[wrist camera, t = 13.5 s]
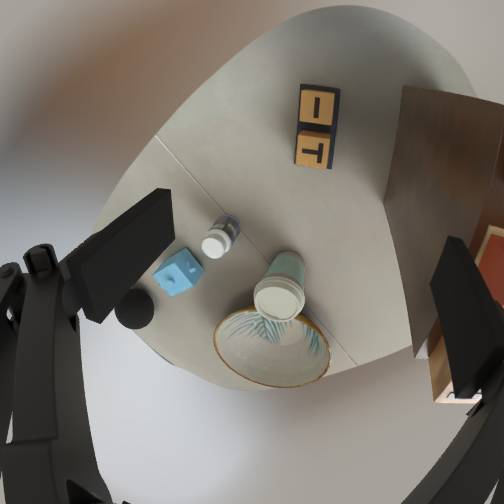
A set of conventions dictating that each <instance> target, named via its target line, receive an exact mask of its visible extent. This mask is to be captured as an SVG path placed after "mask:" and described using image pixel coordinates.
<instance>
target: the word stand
mask: <svg viewBox="0 0 504 504" xmlns="http://www.w3.org/2000/svg"><path fill="white" fill-rule="evenodd" d="M383 205H384V208H385V212H386V216H387V219H388V223H389V227H390V231H391V235H392V239H393V243H394V247H395V251H396V255H397V260H398V264H399V269H400V274H401V279H402V284H403V289H404V294H405V299H406V305H407V311H408V317H409V323H410V330H411V337H412V344H413V352H414V358H418V359H426V360H429V366H430V373H431V382H432V390H433V400H434V402H438V403H474V404H476V403H477V402H478V401H479V400H480V399H481V398H482V395H481V390H479V391H478V392H477V393H476V394H475V395H474V396H473V398H472V399H455V397H454V390H453V384H452V378H451V372H450V367H449V362H448V356H447V352H446V347H445V342H444V338H443V334H442V329H441V325H440V321H439V317H438V313H437V310H436V306H435V302H434V299H433V295H432V292H431V288H430V285H429V284H430V281H431V279H432V276H433V274H434V272H435V269H436V266H437V264H438V261H439V259H440V256H441V253H442V251H443V248H444V245H445V242H446V240H447V237H448V235H449V236H453V237H458V238H462V240H463V242H464V243H465V245H466V247H467V249H468V250H469V252H470V254H471V256H472V258H473V259H474V261H475V263H476V265H477V267H478V265H479V263H480V261H481V258H482V256H483V253H484V251H485V249H486V246H487V244H488V241H489V239H490V236H491V234H494V235H498V236H501V237H504V105H502V104H499V103H494V102H491V101H487V100H483V99H479V98H474V97H470V96H465V95H460V94H455V93H450V92H444V91H439V90H433V89H426V88H419V87H412V86H403V93H402V102H401V109H400V117H399V124H398V130H397V136H396V143H395V148H394V154H393V160H392V165H391V170H390V175H389V180H388V185H387V190H386V195H385V199H384V204H383Z"/></svg>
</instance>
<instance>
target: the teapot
mask: <svg viewBox="0 0 504 504" xmlns="http://www.w3.org/2000/svg"><path fill="white" fill-rule="evenodd" d="M203 272H204V269H203V268H202V267H201V266H200V264H199V263H198V262H197V261H196V259H195V258H194V257H193V256H192V254H191V253H190V252H189V251H188V249H187V248H185V249H183V250H182V251H180V252H178V253H177V254H175V255H173V256H172V257H170V258H168V259H167V260H165V261H164V262H163V263H162V264H161V265H160V267H159V268H158V269H157V270H156V271H155V273H154V274H153V276H154V277H155V279H156V280H157V281H158V282H159V286H160V287H161V288H164V289H165V290H166V292H167V293H168V294H169V295H170V296H171V297H172V296H174V295H176V294H178V293H180V292H183V291H185V290H187V289H189V288H191V287H193V286H194V285H195V284H196V282H197V281H198V279H199V278H200V276H201V275H202V273H203Z"/></svg>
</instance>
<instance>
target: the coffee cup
mask: <svg viewBox="0 0 504 504" xmlns="http://www.w3.org/2000/svg"><path fill="white" fill-rule="evenodd" d="M304 272H305V263H304V260H303V258H302V257H301V256H300V255H299V254H297V253H295V252H292V251H284V252H281V253H279V254H278V255H277V256H276V258H275V259H274V261H273V262H272V264H271V266H270V267H269V269H268V270H267V272H266V274H265V275H264V277H263V278H262V280H261V281H260V282H259V283H258V284H257V285H256V287H255V289H254V295H253V297H254V304H255V307H256V309H257V311H258V312H259V313H260V314H261V315H262V316H263V317H265V318H267V319H269V320H272V321H276V322H286V321H289V320H292V319H293V318H295V317H296V316H297V315H298V314H299V313H300V312H301V310H302V308H303V306H304V304H305V296H304Z"/></svg>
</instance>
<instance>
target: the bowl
mask: <svg viewBox="0 0 504 504" xmlns="http://www.w3.org/2000/svg"><path fill="white" fill-rule="evenodd" d="M213 340H214V346H215V349H216V351H217V354H218V355H219V357H220V358H221V359H222V361H223V362H224V363H225V364H226V365H227V366H228V367H229V368H230V369H232V370H233V371H234V372H235V373H237V374H239V375H240V376H242V377H244V378H245V379H248V380H250V381H252V382H255V383H258V384H261V385H265V386H270V387H276V388H295V387H300V386H305V385H308V384H310V383H313V382H315V381H316V380H318V379H320V378H321V377H322V376H323V375H324V374H325V373H326V372H327V370H328V369H329V367H330V364H331V360H332V357H331V350H330V347H329V344H328V342H327V340H326V338H325V337H324V335H323V334H322V332H321V331H320V330H319V328H318V327H317V326H316V325H315V324H314V323H313V322H312V321H311V320H310V319H308V318H307V317H306V316H304V315H303V314H301V313H299V314H298V315H297V316H296V317H295V318H293V319H292V320H289V321H286V322H276V321H272V320H269V319H267V318H265V317H263V316H262V315H261V314H260V313H259V312H258V311H257V309H256V307H255V306H249V307H246V308H243V309H240V310H238V311H236V312H234V313H232V314H230V315H229V316H227V317H226V318H224V319H223V320H222V321H221V322H220V323H219V324H218V325H217V327H216V329H215V331H214V338H213Z"/></svg>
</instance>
